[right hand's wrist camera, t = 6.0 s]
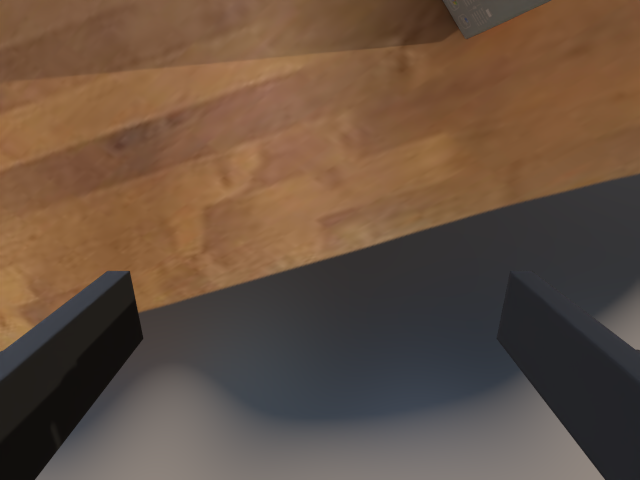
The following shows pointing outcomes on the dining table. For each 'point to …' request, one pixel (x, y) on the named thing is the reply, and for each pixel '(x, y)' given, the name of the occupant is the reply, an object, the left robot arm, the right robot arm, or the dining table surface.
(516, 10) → the hard drive box
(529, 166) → the dining table surface
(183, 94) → the dining table surface
